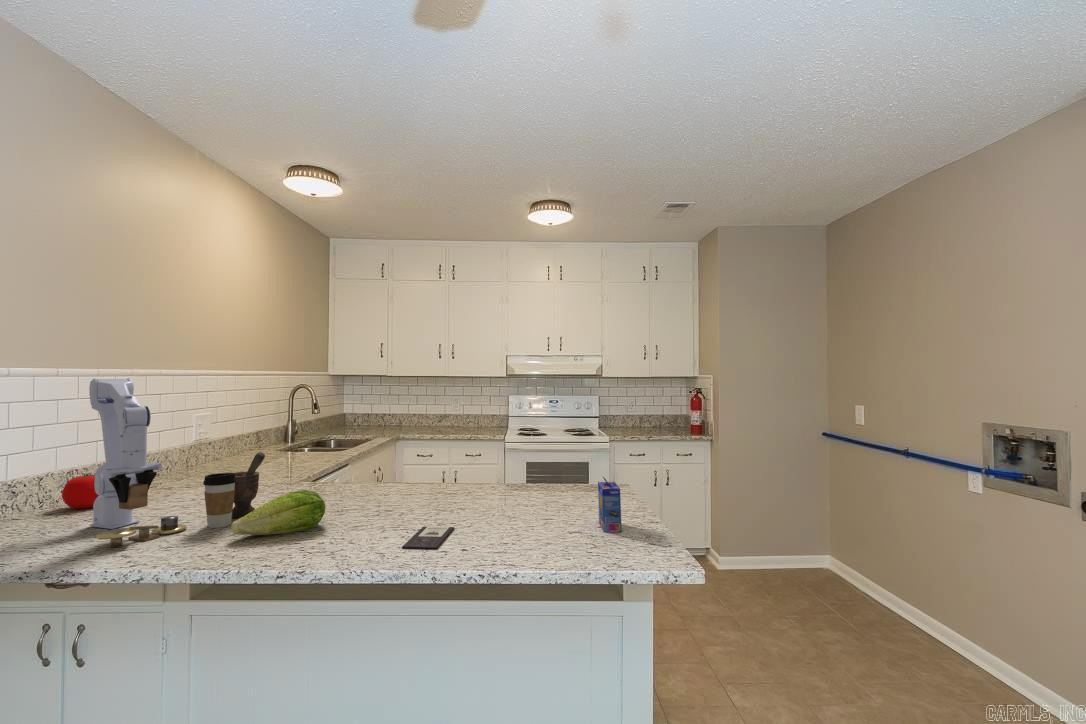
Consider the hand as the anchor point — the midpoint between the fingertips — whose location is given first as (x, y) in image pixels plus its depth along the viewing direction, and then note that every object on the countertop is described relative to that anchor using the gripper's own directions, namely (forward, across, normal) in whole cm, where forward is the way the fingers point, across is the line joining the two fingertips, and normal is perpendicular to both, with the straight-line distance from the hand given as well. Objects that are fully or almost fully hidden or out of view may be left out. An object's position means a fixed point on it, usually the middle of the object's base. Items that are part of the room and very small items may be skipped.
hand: (132, 500), depth 147 cm
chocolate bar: (+10, +22, -79) cm, 83 cm away
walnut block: (+2, 0, 0) cm, 2 cm away
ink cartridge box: (+10, +47, -124) cm, 133 cm away
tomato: (+10, +18, +46) cm, 51 cm away
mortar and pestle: (+10, +26, -14) cm, 31 cm away
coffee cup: (+10, +15, -14) cm, 23 cm away
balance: (+10, -1, -6) cm, 12 cm away
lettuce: (+10, +14, -36) cm, 40 cm away
